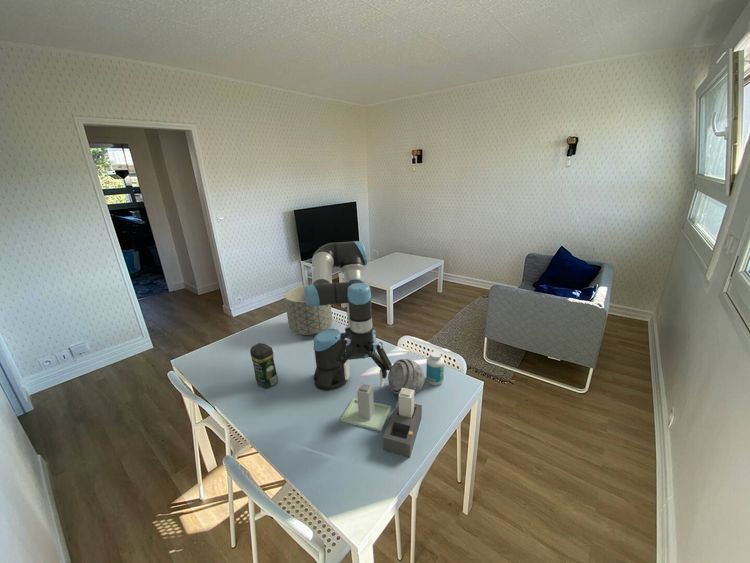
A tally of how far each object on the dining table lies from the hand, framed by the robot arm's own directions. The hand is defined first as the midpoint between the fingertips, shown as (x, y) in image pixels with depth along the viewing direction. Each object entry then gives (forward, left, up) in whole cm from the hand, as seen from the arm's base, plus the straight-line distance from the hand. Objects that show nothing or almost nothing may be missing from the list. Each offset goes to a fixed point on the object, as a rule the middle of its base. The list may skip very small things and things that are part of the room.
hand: (364, 381), depth 111 cm
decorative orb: (+11, +17, -16) cm, 26 cm away
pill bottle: (+21, +28, -16) cm, 39 cm away
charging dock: (+15, -4, -16) cm, 23 cm away
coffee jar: (-50, +5, -16) cm, 53 cm away
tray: (0, 0, -16) cm, 16 cm away
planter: (-56, +53, -16) cm, 79 cm away
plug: (0, 0, -15) cm, 15 cm away
